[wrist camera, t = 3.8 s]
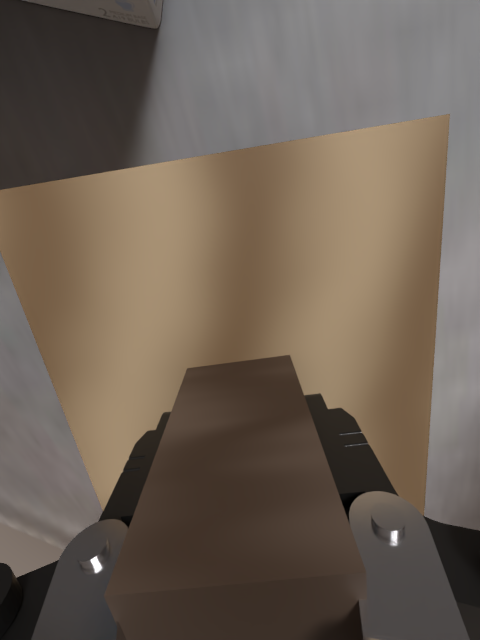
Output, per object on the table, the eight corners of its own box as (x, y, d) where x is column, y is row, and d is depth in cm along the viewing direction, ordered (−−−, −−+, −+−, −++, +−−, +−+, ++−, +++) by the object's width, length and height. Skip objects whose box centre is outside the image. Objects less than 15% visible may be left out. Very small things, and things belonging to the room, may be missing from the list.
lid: (412, 132, 9) (1234, -282, 2) (400, 507, 15) (587, 846, 7) (21, 197, 10) (-724, 127, 2) (140, 533, 15) (31, 870, 7)
